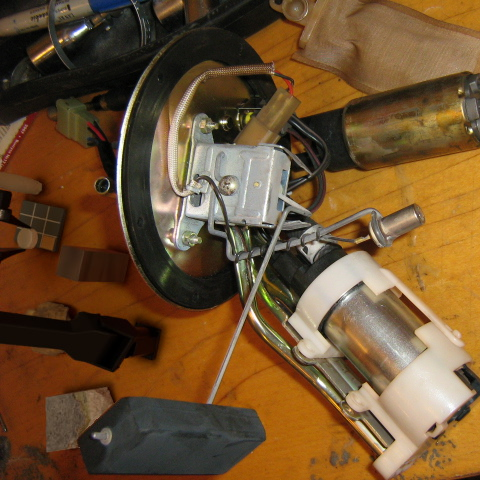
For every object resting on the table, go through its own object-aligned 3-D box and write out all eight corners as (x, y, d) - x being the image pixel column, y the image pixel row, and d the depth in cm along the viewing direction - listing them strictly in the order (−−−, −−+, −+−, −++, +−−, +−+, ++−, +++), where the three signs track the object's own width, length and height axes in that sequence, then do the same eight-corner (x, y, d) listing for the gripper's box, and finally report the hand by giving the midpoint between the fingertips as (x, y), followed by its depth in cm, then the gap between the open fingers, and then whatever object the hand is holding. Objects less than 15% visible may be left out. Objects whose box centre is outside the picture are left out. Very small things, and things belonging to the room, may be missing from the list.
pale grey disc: (39, 230, 100) (33, 229, 99) (35, 251, 100) (29, 250, 99) (25, 226, 102) (19, 226, 100) (21, 247, 102) (15, 246, 100)
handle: (29, 180, 111) (-39, 164, 97) (48, 176, 109) (-19, 159, 95) (28, 199, 110) (-40, 186, 96) (47, 196, 108) (-20, 182, 94)
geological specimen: (40, 398, 96) (90, 388, 90) (67, 393, 101) (115, 383, 95) (43, 453, 93) (94, 446, 88) (70, 444, 99) (121, 437, 93)
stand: (130, 254, 97) (84, 250, 86) (123, 282, 97) (77, 281, 86) (109, 249, 99) (62, 244, 89) (103, 276, 99) (55, 275, 89)
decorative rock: (30, 351, 106) (80, 354, 101) (13, 354, 102) (64, 358, 97) (31, 301, 106) (81, 302, 101) (14, 302, 102) (65, 303, 97)
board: (67, 209, 105) (62, 208, 104) (57, 252, 105) (53, 251, 104) (26, 200, 111) (22, 199, 109) (17, 241, 110) (12, 240, 109)
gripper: (-67, 175, 89) (13, 191, 104) (-89, 269, 89) (-6, 272, 103) (-32, 183, 85) (46, 198, 99) (-54, 282, 84) (27, 283, 99)
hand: (27, 238), depth 100 cm, fingers closed on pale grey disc, 4 cm apart
